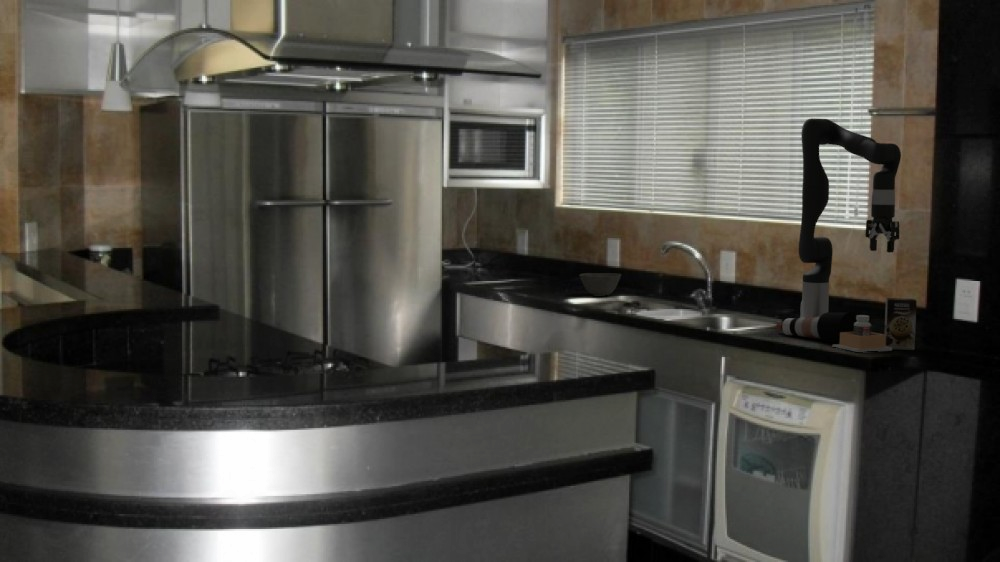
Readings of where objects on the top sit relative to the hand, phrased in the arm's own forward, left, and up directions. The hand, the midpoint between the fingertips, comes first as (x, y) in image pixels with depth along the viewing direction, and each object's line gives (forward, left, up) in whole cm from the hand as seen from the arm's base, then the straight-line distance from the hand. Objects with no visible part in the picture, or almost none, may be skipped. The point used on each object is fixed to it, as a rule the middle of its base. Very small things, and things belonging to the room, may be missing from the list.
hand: (881, 251), depth 404 cm
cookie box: (+17, -5, -30) cm, 35 cm away
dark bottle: (-11, -19, -30) cm, 37 cm away
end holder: (+14, -18, -30) cm, 38 cm away
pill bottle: (+14, -18, -29) cm, 37 cm away
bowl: (-156, -27, -30) cm, 161 cm away
